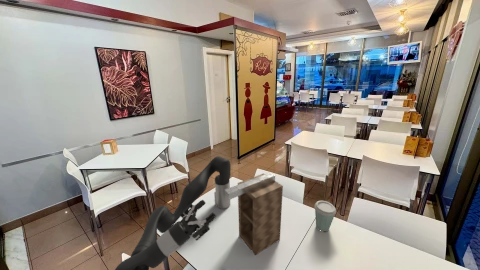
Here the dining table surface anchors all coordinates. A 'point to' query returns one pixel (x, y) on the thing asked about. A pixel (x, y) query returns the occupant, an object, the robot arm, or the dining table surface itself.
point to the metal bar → (249, 186)
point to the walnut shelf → (260, 215)
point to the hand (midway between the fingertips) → (209, 207)
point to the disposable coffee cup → (324, 215)
